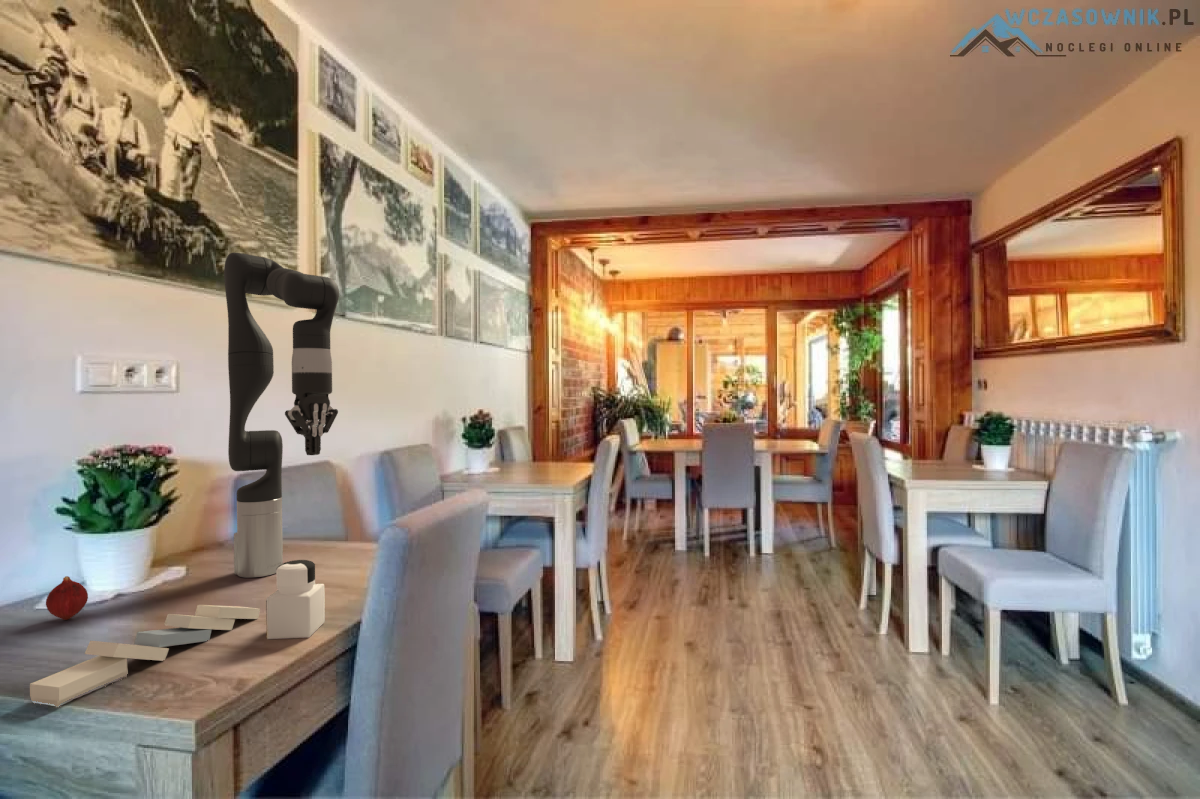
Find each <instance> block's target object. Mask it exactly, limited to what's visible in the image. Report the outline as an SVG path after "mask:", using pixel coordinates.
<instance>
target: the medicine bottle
mask: <svg viewBox="0 0 1200 799" xmlns="http://www.w3.org/2000/svg"><path fill="white" fill-rule="evenodd" d="M275 574H276V576H275V577H276V591H274V592H273V593H272V594H270V595H269V596H267V597H266V598H265V599H266V600H265V602H266V603H265V613H266V616H265V617H266V618H265V619H266V620H265V622H266V625H265V626H266V639H267V640H281V639H282V640H283V639H305V638H311V636H312V635H314V634H315V632H317V630H318V629H319V628H320V627H321V626H322V625H324V624H325V621H326V619H325V618H326V615H325V614H326V612H325V610H326V608H325V606H326V605H325V603H326V602H325V598H326V597H325V596H326V594H325V584H324V583H316V563H315V562H314V561H312V560H308V559H294V560H290V561H286V562H283V564H281V565H280V566H278V567H277V569H276V573H275Z"/></svg>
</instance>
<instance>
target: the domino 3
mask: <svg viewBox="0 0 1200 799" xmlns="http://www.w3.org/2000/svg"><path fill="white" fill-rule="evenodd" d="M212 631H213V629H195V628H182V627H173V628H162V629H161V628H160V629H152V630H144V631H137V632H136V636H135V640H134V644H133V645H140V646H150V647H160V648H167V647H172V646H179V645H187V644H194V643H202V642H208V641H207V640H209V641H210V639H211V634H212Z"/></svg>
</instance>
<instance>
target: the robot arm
mask: <svg viewBox="0 0 1200 799" xmlns="http://www.w3.org/2000/svg"><path fill="white" fill-rule="evenodd" d="M223 267H224V268H223V270H224V271H223V275H224V276H223V278H224V288H225V289H224V292H225V299H226V307H227V308H226V309H227V318H228V319H227V322H228V330H227V331H228V334H227V336H228V342H227V344H228V347H227V362H228V363H227V367H228V368H227V369H228V384H229V426H228V429H229V430H228V448H227V449H228V450H227V451H228V454H227V455H228V463H229V466H230V468H231V470H233V471H234V472H249V471H263V470H265V473H264V475H262V476H261V477H260V478H259V479H256V480H255V481H253V482H251V483H248V484H245V485H241V487H239V488H237V490H236V532H234V533H233V574H234V575H237V576H238V577H241V578H260V577H267V576H270V575H271V576H272V575H275V574H276V569H277V567H278V566H280V565H281V564H283V563H284V560H283V559H284V557H283V552H284V551H283V545H284V544H283V543H284V542H283V541H284V540H283V493H282V492H283V491H282V488H283V487H282V468H283V454H284V453H283V448H284V447H283V446H284V445H283V438H282V434H281V433H280V432H279V431H278V430H273V429H271V430H269V429H268V430H266V429H265V430H249V431H248V430H246V429H245V428H246V423H247V420H248V417H249V416H250V413H251V411H252V410H253V408H254V406H255V404H256V403H257V401H258V400H259V399H260V397H261V396H262V395H263V393H264V392H265V391H266V389H267V388H268V386H269V385H270V384H271V382H272V379H273V376H274V371H275V370H274V348H273V346H272V343H271V341H270V339H269V338H268V337H267V335H266V334H265V332H264V331H263V329H262V328H261V326H260V325H259V324H258V322H257V321H256V319H255V318H254V316H253V313H252V312H251V310H250V308H249V303H248V300H247V295H246V294H249V295H253V296H254V295H255V296H273V297H274V298H277V299H278V300H281V301H283V302H284V303H285V304H286V305H287V306H289V307H293V308H298V309H308V310H316V312H315V315H314V316H313V318H310V319H303V320H302V319H301V320H297V321H295V322H294V323H293V325H292V355H291V392H292V394H293V395H295V398H294V402H293V405H294V406H293V407H292V408H291V409H288V410H285V412H284V415H285V417H286V418H287V421H288V422H289V423H290V426H292V428H293V429H294V431H295V433H296V434H297V435H301V436H303V437H304V447H305V448H304V451H305V454H306V455H307V456H317V455H320V454H321V450H322V446H321V444H322V443H321V442H322V440H321V438H322V436H323V434H327V433H329V432H330V429H331V427H332V425H333V423H334V422H335V420H336V418H337V416H338V413H339V410H338V409H336V408H333V407H332V406H331V400H330V398H329V395H331V394H332V393H333V361H332V353H331V329H332V324H333V320H334V315H335V312H336V309H337V307H338V303H339V298H340V291H339V287H338V285H337V283H336V281H335V280H334V279H332V278H331V277H328V276H322V275H317V274H316V275H314V274H307V273H303V272H301V271H299V270H294V269H290V268H288V267H287V268H286V267H283V266H282V265H280V264H279V263H278V262H276V261H275V260H273V259H270V258H268V257H263V256H258V255H253V254H249V253H242V252H230V253H229V254H227V256H226V258H225V262H224V266H223Z"/></svg>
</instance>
